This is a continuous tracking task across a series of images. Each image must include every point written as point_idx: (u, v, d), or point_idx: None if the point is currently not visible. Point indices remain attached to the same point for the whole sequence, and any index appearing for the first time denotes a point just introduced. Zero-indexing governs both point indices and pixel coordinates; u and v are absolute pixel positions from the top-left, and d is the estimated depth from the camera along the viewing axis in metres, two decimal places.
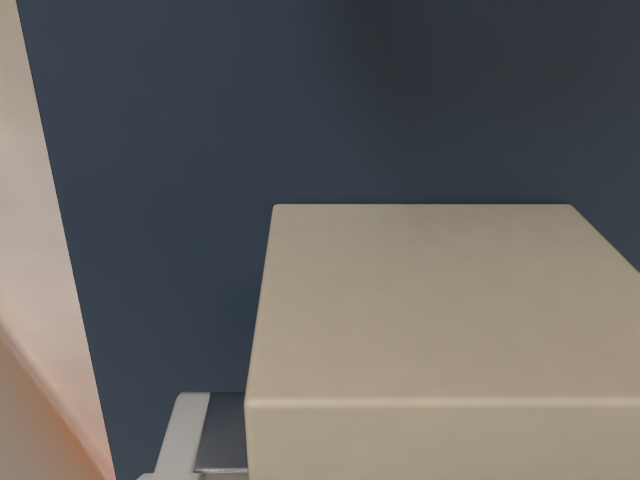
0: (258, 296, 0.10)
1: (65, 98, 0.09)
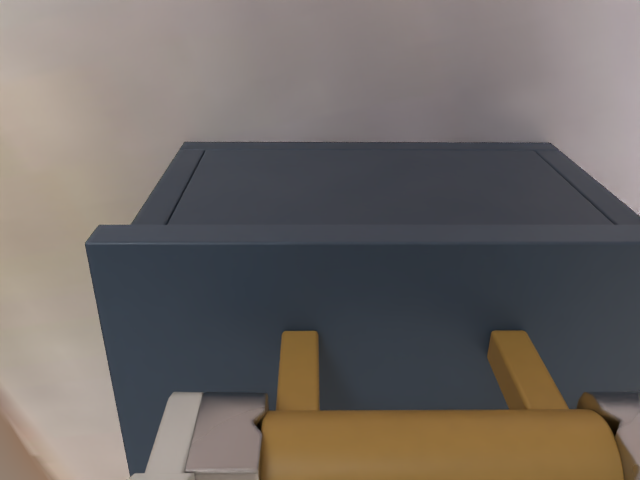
0: None
1: None
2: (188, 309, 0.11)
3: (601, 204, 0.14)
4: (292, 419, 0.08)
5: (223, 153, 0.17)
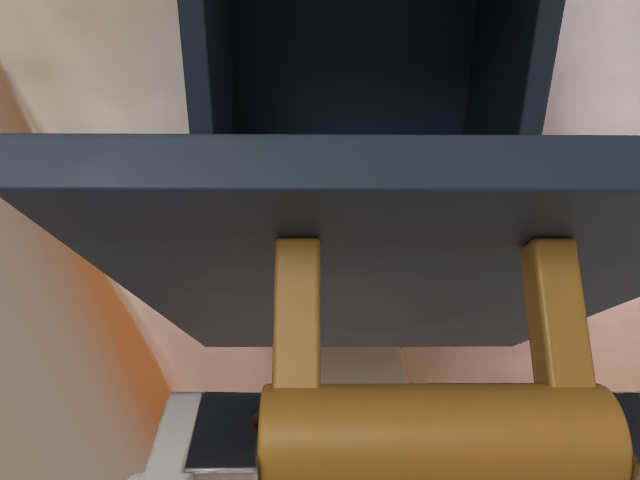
0: None
1: (146, 290, 0.13)
2: (155, 226, 0.09)
3: None
4: (291, 429, 0.08)
5: None
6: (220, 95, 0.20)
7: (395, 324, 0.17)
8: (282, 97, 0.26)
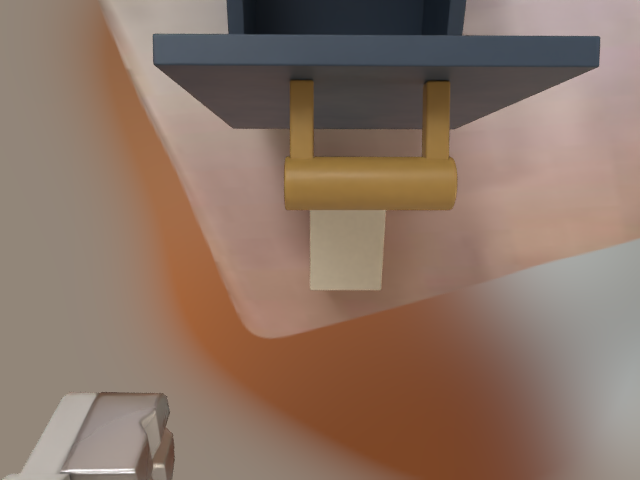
0: (288, 113, 0.24)
1: (208, 99, 0.21)
2: (227, 76, 0.17)
3: None
4: (299, 177, 0.17)
5: None
6: None
7: (366, 116, 0.25)
8: None
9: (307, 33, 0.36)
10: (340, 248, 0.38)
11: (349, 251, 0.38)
